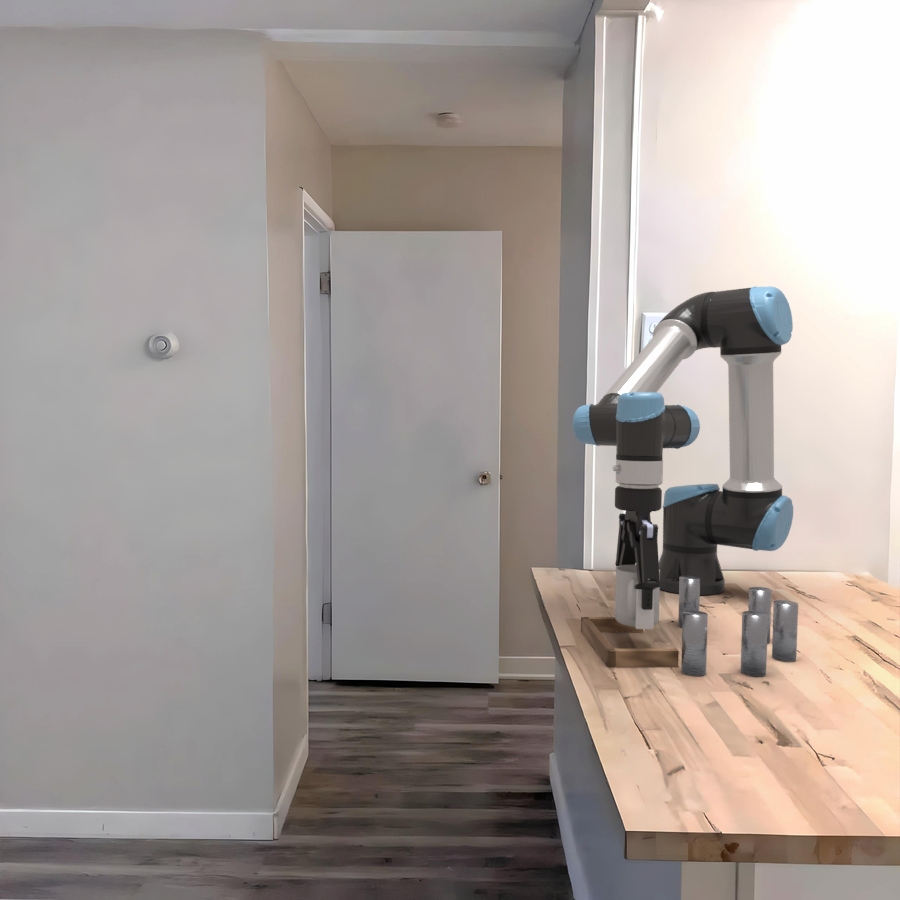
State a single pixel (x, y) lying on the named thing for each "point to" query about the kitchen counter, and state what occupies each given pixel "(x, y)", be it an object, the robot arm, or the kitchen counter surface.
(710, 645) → the kitchen counter surface
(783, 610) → the spacers
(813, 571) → the kitchen counter surface
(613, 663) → the bay
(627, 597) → the cup
